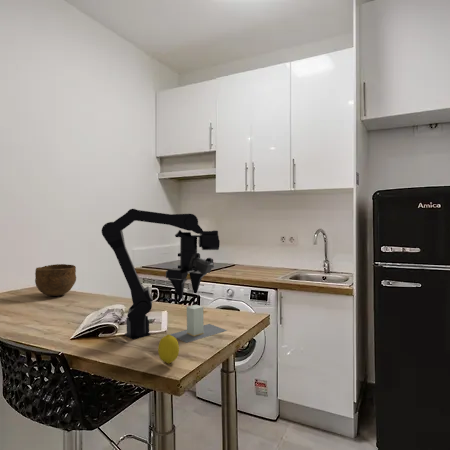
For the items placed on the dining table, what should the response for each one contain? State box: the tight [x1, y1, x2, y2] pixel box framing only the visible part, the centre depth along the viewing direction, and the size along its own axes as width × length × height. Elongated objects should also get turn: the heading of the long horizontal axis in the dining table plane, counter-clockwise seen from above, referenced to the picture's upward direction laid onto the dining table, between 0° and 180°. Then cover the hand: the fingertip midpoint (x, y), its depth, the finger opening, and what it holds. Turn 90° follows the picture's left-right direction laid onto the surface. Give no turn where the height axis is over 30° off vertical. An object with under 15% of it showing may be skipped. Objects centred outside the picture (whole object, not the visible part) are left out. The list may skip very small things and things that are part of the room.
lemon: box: [157, 333, 180, 365], centre depth 93 cm, size 6×6×8 cm
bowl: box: [34, 263, 77, 297], centre depth 175 cm, size 19×19×15 cm
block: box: [186, 304, 205, 336], centre depth 116 cm, size 4×4×9 cm
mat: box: [169, 323, 228, 344], centre depth 117 cm, size 17×10×1 cm, turn 131°
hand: (188, 295), depth 118 cm, fingers open, 9 cm apart
